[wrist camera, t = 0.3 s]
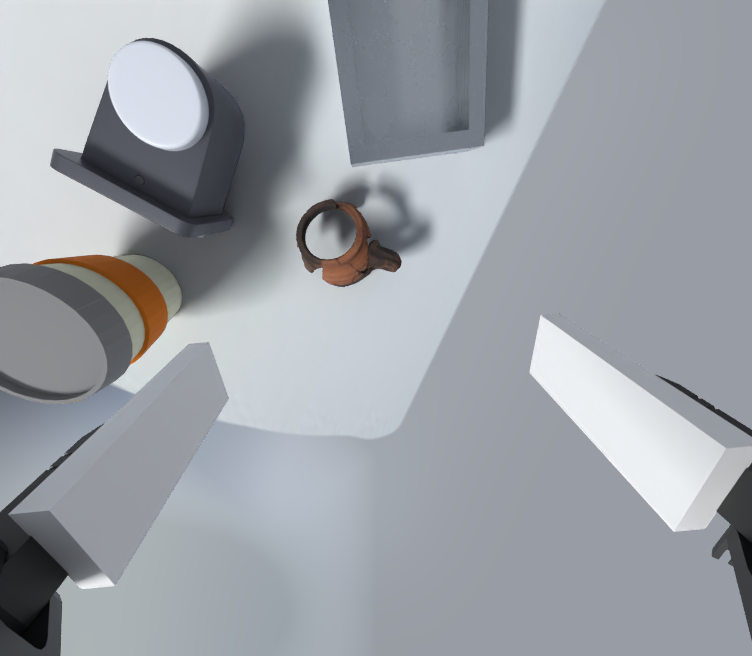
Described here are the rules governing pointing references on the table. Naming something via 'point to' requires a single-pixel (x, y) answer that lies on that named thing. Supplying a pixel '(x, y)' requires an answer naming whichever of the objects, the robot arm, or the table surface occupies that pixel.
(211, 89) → the wireless charger stand
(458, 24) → the dock
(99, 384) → the reusable coffee cup
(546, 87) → the table surface
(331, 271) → the brown ring with handle
